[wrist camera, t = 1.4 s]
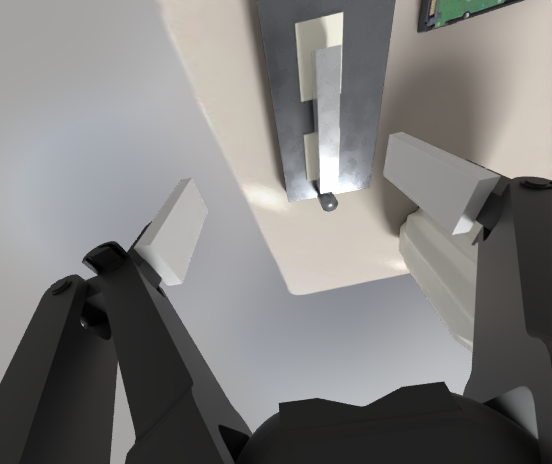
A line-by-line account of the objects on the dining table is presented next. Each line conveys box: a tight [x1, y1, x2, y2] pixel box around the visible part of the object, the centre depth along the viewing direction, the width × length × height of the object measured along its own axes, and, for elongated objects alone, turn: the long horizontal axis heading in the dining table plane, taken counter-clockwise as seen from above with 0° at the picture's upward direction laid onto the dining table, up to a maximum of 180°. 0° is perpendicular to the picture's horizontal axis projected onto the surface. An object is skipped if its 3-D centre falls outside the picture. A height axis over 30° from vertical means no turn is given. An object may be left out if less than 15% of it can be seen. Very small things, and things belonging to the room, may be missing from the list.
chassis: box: [257, 0, 396, 202], centre depth 28 cm, size 24×14×4 cm, turn 10°
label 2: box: [304, 128, 340, 181], centre depth 30 cm, size 7×5×1 cm
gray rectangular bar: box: [311, 45, 341, 212], centre depth 26 cm, size 19×2×3 cm, turn 10°
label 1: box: [295, 12, 343, 102], centre depth 23 cm, size 7×5×1 cm
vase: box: [399, 208, 483, 353], centre depth 34 cm, size 20×20×27 cm
